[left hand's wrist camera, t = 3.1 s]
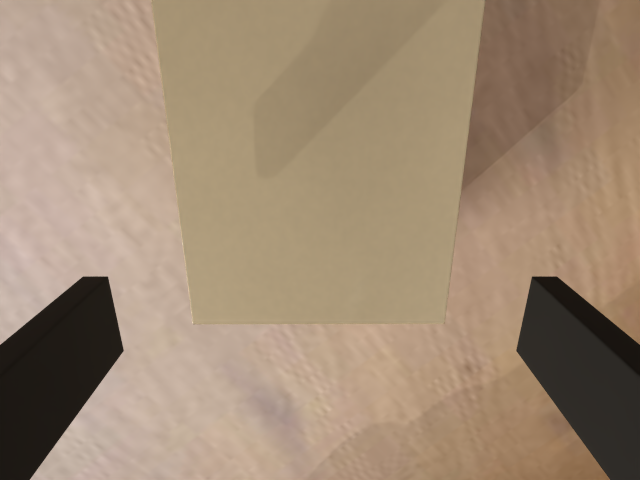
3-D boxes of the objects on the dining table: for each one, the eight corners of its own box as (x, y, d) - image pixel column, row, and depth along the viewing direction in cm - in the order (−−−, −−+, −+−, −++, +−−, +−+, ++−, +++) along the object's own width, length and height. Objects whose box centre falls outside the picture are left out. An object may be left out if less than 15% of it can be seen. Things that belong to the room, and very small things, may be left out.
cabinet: (210, -65, 21) (127, -180, 12) (426, -65, 21) (508, -180, 12) (234, 244, 28) (192, 324, 18) (402, 244, 28) (444, 324, 18)
